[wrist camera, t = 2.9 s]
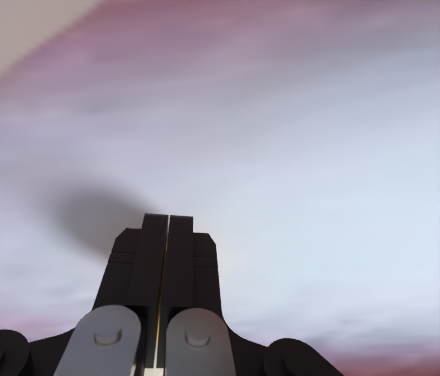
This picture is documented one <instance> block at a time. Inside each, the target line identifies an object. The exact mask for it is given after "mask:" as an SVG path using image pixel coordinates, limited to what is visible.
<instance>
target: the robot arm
mask: <svg viewBox="0 0 440 376" xmlns="http://www.w3.org/2000/svg"><path fill="white" fill-rule="evenodd" d="M167 231H168V215H161V214H147V213H145V216H144V220H143V224H142V229H130V228H126V229H125V230H124V231H123V232H122V233H121V234H120V235H119V236H118V237H117V238H116V239H115V242H114V245H113V248H112V252H111V254H110V257H109V260H108V265H107V266H106V269H105V272H104V275H103V278H102V281H101V284H100V287H99V291H98V294H97V297H96V300H95V303H94V306H93V308H92V310H91V311H90V312H89V313H88V314H86V315H85V316H84V317H83V318H82V319H81V320H80V321H79V322H78V324H77V326H76V327H75V328H73V329H71V330H70V331H68V332H65V333H63V334H60V335H57V336H53V337H49V338H45V339H41V340H37V341H33V342H29V343H28V341H27V339H26V338H25V337H24V336H23V335H22V334H21V333H19V332H17V331H13V330H5V329H4V330H0V376H144V372H145V368H154V359H155V350H156V341H157V332H158V347H157V363H156V368H164V369H163V376H344V375H343V374H342V373H340V372H339V371H338V370H337V369H336V368H335V367H334V366H332V365H331V364H330V363H329V362H328V361H327V360H326V359H325V358H323V357H322V356H321V355H320V354H319V353H318V352H317V351H316V350H314V349H313V348H312V347H311V346H309V345H308V344H306V343H304V342H302V341H300V340H296V339H291V338H283V339H279V340H276V341H274V342H273V343H271V344H270V345H269V346H268V347H266V346H263V345H260V344H257V343H254V342H251V341H248V340H246V339H244V338H242V337H240V336H238V335H237V334H236V333H234V332H233V331H232V330H231V329H230V328H229V327H228V325H227V324H226V322H225V320H224V318H223V315H222V310H221V298H220V287H219V275H218V264H217V252H216V244H215V243H214V241H213V240H212V238H211V237H210V235H209V234H208V233H193V217H191V216H177V215H170V223H169V232H168V241H167ZM166 246H167V249H166ZM159 315H160V316H159ZM158 324H159V331H158Z"/></svg>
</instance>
